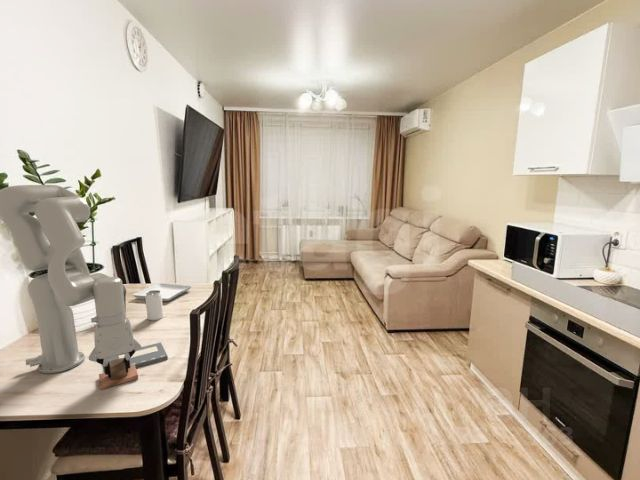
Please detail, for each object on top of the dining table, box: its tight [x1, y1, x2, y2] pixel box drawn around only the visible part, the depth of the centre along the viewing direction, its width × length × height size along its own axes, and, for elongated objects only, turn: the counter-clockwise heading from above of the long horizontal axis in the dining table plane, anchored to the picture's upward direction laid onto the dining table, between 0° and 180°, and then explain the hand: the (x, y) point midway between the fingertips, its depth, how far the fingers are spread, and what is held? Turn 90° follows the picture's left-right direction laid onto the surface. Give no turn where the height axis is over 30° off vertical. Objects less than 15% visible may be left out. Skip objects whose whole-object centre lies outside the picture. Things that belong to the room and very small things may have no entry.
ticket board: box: [108, 342, 169, 369], centre depth 120 cm, size 18×12×1 cm, turn 125°
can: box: [145, 290, 164, 321], centre depth 154 cm, size 6×6×12 cm
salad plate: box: [132, 282, 192, 302], centre depth 184 cm, size 21×21×3 cm
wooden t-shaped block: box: [98, 358, 139, 390], centre depth 108 cm, size 10×7×5 cm
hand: (118, 372), depth 108 cm, fingers closed on wooden t-shaped block, 4 cm apart
